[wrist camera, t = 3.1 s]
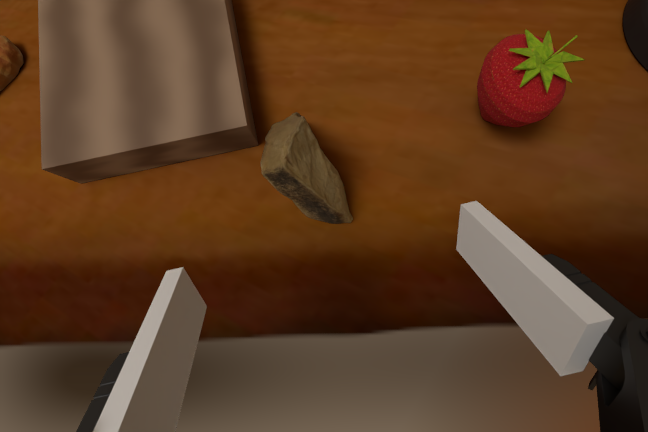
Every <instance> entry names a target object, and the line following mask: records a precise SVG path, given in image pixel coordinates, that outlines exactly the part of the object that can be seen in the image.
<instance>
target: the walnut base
mask: <svg viewBox="0 0 648 432" xmlns="http://www.w3.org/2000/svg"><path fill="white" fill-rule="evenodd" d="M38 16H39V62H40V109H41V155H42V169H43V170H45V171H48V172H51V173H54V174H56V175H59V176H62V177H64V178H67V179H70V180H73V181H75V182H78V183H86V182H90V181H95V180H100V179H104V178H109V177H114V176H118V175H123V174H128V173H132V172H137V171H142V170H146V169H151V168H156V167H160V166H165V165H170V164H174V163H179V162H184V161H188V160H193V159H198V158H202V157H207V156H212V155H216V154H221V153H226V152H230V151H235V150H239V149H244V148H249V147H253V146H258V140H257V135H256V130H255V124H254V119H253V113H252V108H251V103H250V97H249V92H248V86H247V81H246V76H245V70H244V65H243V59H242V54H241V49H240V43H239V38H238V32H237V27H236V22H235V16H234V11H233V5H232V0H38Z"/></svg>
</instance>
